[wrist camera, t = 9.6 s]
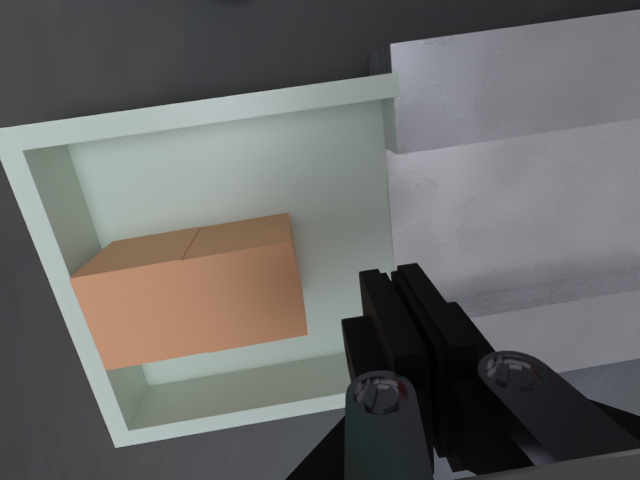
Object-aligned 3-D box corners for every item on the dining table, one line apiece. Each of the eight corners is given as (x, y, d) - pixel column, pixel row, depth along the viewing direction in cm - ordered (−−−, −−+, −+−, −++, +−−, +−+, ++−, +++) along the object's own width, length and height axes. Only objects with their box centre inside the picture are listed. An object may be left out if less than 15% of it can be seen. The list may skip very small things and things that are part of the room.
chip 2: (288, 212, 19) (290, 241, 15) (302, 290, 20) (307, 335, 16) (201, 227, 18) (181, 260, 15) (221, 304, 20) (207, 353, 16)
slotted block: (661, 14, 19) (754, -7, 15) (620, 311, 25) (682, 350, 21) (367, 54, 18) (390, 43, 15) (392, 350, 24) (414, 398, 20)
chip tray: (369, 78, 19) (399, 71, 14) (391, 336, 24) (419, 394, 19) (62, 121, 18) (-12, 130, 14) (148, 377, 23) (115, 447, 18)
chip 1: (200, 226, 18) (180, 259, 15) (221, 303, 20) (207, 352, 16) (112, 241, 18) (68, 278, 15) (138, 318, 20) (105, 370, 16)
